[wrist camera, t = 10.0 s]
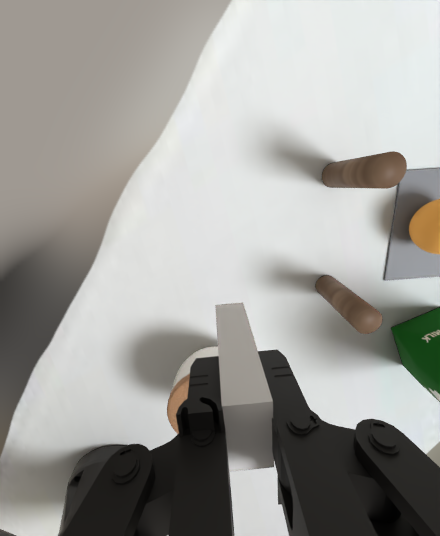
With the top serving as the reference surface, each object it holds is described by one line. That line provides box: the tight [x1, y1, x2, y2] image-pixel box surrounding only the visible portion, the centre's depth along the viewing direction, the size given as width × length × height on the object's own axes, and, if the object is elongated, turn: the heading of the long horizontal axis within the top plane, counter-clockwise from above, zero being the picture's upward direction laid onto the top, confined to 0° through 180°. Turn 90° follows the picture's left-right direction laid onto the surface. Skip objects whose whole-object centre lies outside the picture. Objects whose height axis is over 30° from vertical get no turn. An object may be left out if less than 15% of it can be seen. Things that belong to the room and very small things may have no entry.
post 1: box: [322, 152, 407, 188], centre depth 23 cm, size 3×3×9 cm
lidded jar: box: [167, 346, 219, 434], centre depth 30 cm, size 11×11×9 cm
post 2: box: [316, 275, 382, 334], centre depth 27 cm, size 3×3×9 cm
